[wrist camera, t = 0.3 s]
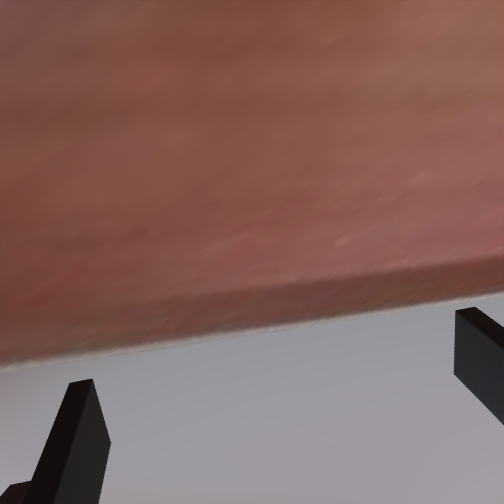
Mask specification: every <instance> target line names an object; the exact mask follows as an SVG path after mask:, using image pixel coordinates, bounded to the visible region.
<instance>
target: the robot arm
mask: <svg viewBox="0 0 504 504" xmlns="http://www.w3.org/2000/svg"><path fill="white" fill-rule="evenodd" d="M454 349H455V350H454V375H455V376H456V377H457V378H458V379H459V380H461V382H462V383H463V384H464V385H465V386H466V387H467V388H468V389H469V390H470V391H471V392H472V393H473V394H474V395H475V396H476V397H477V398H478V399H479V400H480V401H481V402H482V403H483V404H484V405H485V406H486V407H487V408H488V409H489V410H490V411H491V412H492V413H493V415H494V416H495V417H497V419H498V420H499V421H500V422H501V423H502V424H503V425H504V327H503V326H501V325H500V324H498V323H497V322H495V321H494V320H493V319H491V318H490V317H489V316H487V315H486V314H484V313H483V312H482V311H480V310H479V309H477V308H476V307H471V308H466V309H460V310H456V311H455V348H454ZM110 445H111V441H110V438H109V434H108V431H107V428H106V424H105V420H104V417H103V414H102V410H101V407H100V403H99V399H98V396H97V393H96V389H95V385H94V382H93V379H87V380H82V381H77V382H72V383H69V386H68V389H67V391H66V393H65V396H64V398H63V401H62V403H61V406H60V409H59V411H58V414H57V416H56V419H55V421H54V424H53V426H52V429H51V431H50V434H49V437H48V439H47V442H46V444H45V447H44V449H43V452H42V454H41V457H40V459H39V462H38V464H37V467H36V470H35V472H34V475H33V477H32V480H31V481H27V482H23V483H17V484H13V485H10V486H9V487H8V488H7V489H6V490H5V492H4V493H3V494H2V495H1V496H0V504H99V498H100V494H101V489H102V484H103V479H104V474H105V470H106V465H107V460H108V455H109V450H110Z"/></svg>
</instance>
